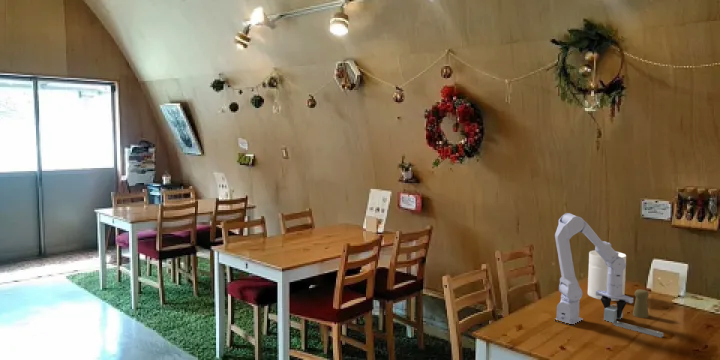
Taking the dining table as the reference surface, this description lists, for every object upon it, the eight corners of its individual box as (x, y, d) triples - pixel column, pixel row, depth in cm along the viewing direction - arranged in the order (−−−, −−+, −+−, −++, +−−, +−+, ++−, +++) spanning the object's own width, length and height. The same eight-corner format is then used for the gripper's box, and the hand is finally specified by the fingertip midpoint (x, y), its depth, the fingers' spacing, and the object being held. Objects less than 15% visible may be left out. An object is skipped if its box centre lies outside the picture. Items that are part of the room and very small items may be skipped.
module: (613, 323, 226) (614, 310, 226) (603, 320, 229) (604, 308, 229) (622, 317, 232) (623, 305, 232) (612, 315, 235) (613, 303, 235)
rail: (661, 337, 211) (661, 333, 211) (613, 325, 224) (613, 321, 224) (663, 336, 212) (663, 332, 212) (615, 324, 225) (615, 320, 225)
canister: (580, 292, 268) (581, 251, 266) (607, 289, 273) (609, 249, 271) (604, 302, 253) (605, 259, 251) (632, 298, 258) (634, 256, 256)
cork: (632, 316, 234) (633, 291, 233) (632, 312, 239) (634, 287, 238) (648, 318, 231) (649, 293, 230) (648, 314, 236) (649, 289, 235)
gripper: (636, 285, 227) (635, 317, 228) (601, 278, 237) (600, 309, 239) (629, 289, 222) (628, 322, 223) (594, 281, 233) (592, 313, 234)
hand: (613, 315), depth 231 cm, fingers closed on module, 4 cm apart
